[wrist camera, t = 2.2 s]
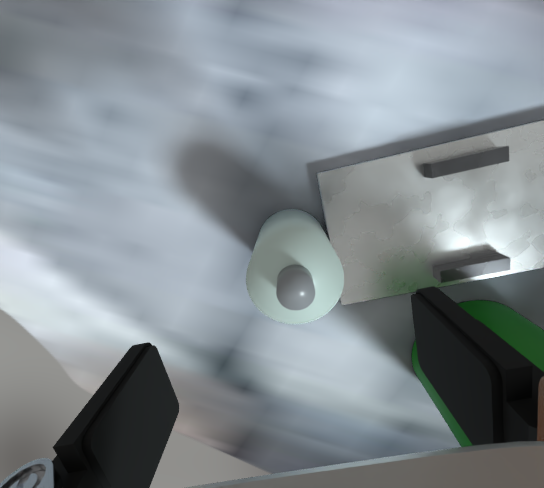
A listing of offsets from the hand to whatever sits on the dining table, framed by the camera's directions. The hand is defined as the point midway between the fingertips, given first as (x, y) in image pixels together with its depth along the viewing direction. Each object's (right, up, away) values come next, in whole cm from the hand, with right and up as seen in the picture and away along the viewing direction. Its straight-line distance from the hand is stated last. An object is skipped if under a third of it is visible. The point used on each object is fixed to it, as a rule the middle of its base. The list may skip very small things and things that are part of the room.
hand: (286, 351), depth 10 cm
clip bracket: (+14, +6, +12) cm, 20 cm away
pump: (+1, +4, +14) cm, 14 cm away
